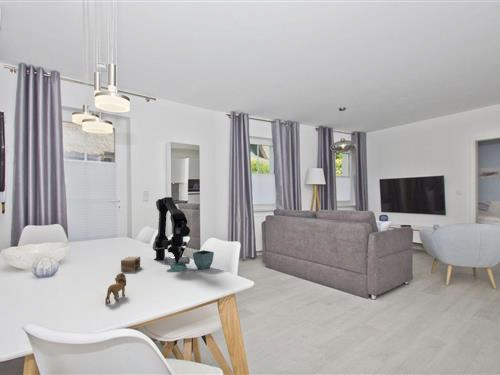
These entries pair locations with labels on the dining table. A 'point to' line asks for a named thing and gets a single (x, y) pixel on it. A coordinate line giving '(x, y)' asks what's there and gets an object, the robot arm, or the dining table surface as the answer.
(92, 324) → the dining table surface
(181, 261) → the axle
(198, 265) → the flower pot
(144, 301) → the dining table surface
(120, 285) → the lion figurine
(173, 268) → the cradle
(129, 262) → the brown block
